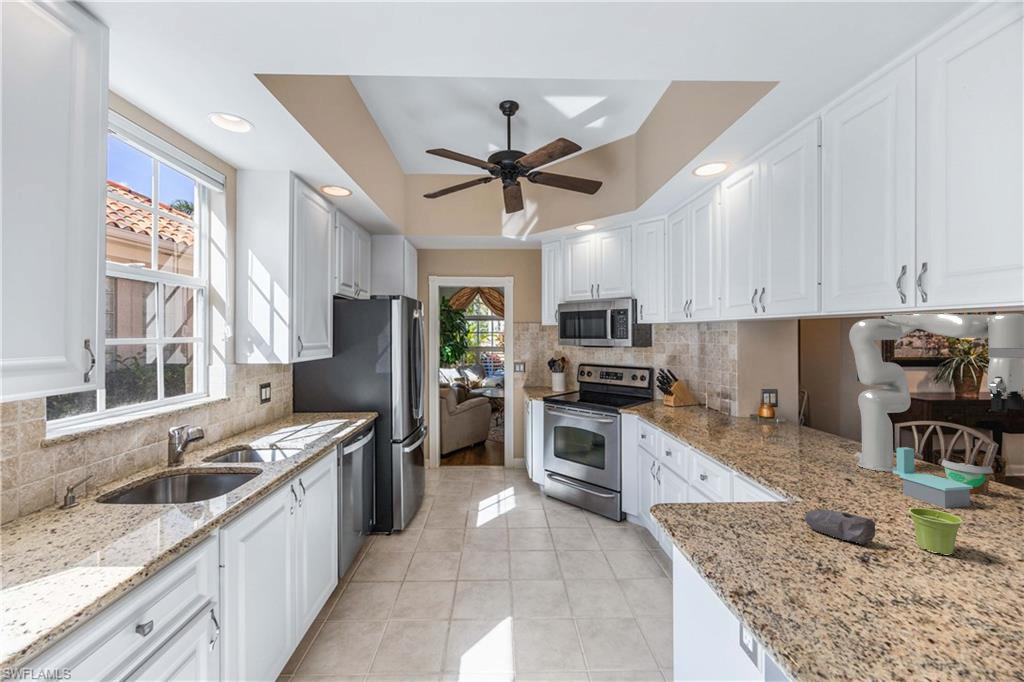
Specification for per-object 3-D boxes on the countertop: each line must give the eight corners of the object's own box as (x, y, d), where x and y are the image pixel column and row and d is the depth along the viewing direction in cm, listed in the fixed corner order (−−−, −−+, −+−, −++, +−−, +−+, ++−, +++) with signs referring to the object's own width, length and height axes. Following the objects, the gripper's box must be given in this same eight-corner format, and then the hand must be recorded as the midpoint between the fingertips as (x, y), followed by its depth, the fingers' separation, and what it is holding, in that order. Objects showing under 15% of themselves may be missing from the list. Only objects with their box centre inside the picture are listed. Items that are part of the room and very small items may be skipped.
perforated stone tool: (801, 530, 116) (800, 504, 116) (808, 525, 120) (808, 500, 120) (870, 551, 104) (870, 523, 104) (877, 545, 107) (876, 518, 107)
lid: (886, 473, 145) (886, 447, 146) (911, 471, 147) (911, 446, 147) (945, 490, 128) (944, 461, 128) (972, 488, 130) (972, 459, 130)
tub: (903, 495, 141) (902, 477, 141) (926, 494, 142) (925, 476, 142) (945, 510, 129) (944, 490, 129) (969, 507, 130) (969, 488, 130)
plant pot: (922, 538, 111) (921, 505, 111) (971, 555, 102) (971, 519, 102) (900, 545, 107) (899, 510, 107) (949, 563, 98) (949, 525, 98)
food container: (934, 488, 147) (934, 459, 147) (943, 485, 150) (942, 457, 150) (985, 500, 136) (985, 469, 136) (993, 497, 139) (993, 466, 139)
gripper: (1003, 353, 136) (1003, 406, 136) (975, 354, 130) (975, 410, 130) (1038, 354, 129) (1039, 410, 129) (1010, 355, 123) (1011, 414, 123)
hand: (1007, 410), depth 130 cm, fingers open, 9 cm apart
